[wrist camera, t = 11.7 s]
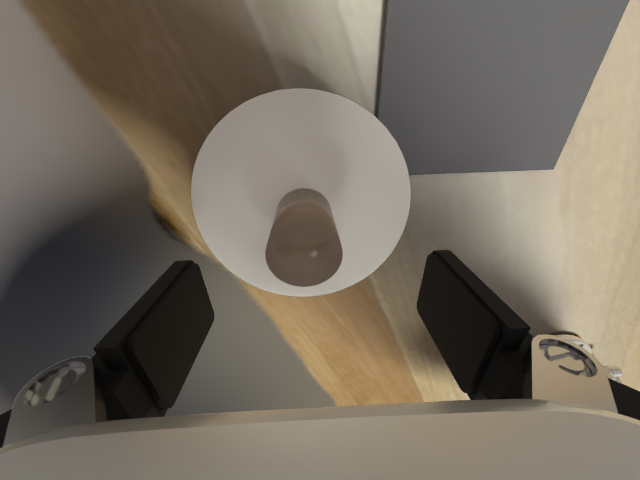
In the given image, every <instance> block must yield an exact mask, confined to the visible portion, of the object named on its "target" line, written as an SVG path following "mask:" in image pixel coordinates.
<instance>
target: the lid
mask: <svg viewBox="0 0 640 480" xmlns="http://www.w3.org/2000/svg"><path fill="white" fill-rule="evenodd" d="M191 199H192V208H193V212H194V217H195V221H196V223H197V226H198V229H199V231H200V234H201V235H202V237H203V239H204V241H205V243H206V245H207V246H208V248H209V249H210V250H211V252H212V253H213V254H214V256H215V257H216V258H217V259H218V260H219V261H220V262H221V263H222V264H223V265H224V266H225V267H226V268H227V269H228V270H229V271H231V272H232V273H233V274H234V275H236V276H237V277H239V278H240V279H242V280H243V281H245V282H247V283H249V284H251V285H253V286H255V287H257V288H260V289H262V290H265V291H268V292H272V293H275V294H281V295H286V296H296V297H309V296H319V295H324V294H329V293H333V292H336V291H339V290H342V289H345V288H347V287H349V286H352V285H354V284H356V283H357V282H359V281H361V280H363V279H364V278H366V277H367V276H368V275H370V274H371V273H372V272H374V271H375V270H376V269H377V268H378V267H379V266H380V265H381V264H382V263H383V262H384V261H385V260H386V259H387V258H388V256H389V255H390V254H391V253H392V251H393V250H394V248H395V247H396V245H397V243H398V241H399V240H400V238H401V236H402V234H403V231H404V228H405V226H406V223H407V219H408V214H409V210H410V200H411V189H410V179H409V173H408V168H407V165H406V162H405V159H404V156H403V154H402V152H401V150H400V148H399V146H398V144H397V142H396V141H395V139H394V138H393V136H392V135H391V134H390V132H389V131H388V129H387V128H386V127H385V126H384V125H383V124H382V123H381V122H380V121H379V120H378V119H377V118H376V117H375V116H374V115H373V114H371V113H370V112H369V111H367V110H366V109H365V108H363V107H362V106H360V105H358V104H357V103H355V102H353V101H351V100H349V99H347V98H345V97H342V96H339V95H337V94H334V93H331V92H326V91H321V90H316V89H304V88H292V89H283V90H276V91H273V92H269V93H265V94H262V95H259V96H257V97H255V98H252V99H250V100H248V101H246V102H244V103H242V104H241V105H239V106H238V107H236V108H235V109H233V110H232V111H230V112H229V113H228V114H227V115H226V116H225V117H224V118H223V119H222V120H220V121H219V122H218V123H217V125H216V126H215V127H214V128H213V130H212V131H211V132H210V133H209V135H208V136H207V138H206V140H205V141H204V143H203V145H202V147H201V149H200V151H199V154H198V156H197V159H196V162H195V165H194V170H193V175H192V182H191Z"/></svg>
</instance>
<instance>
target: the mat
mask: <svg viewBox="0 0 640 480" xmlns="http://www.w3.org/2000/svg"><path fill="white" fill-rule="evenodd" d="M628 2H629V0H386V11H385V23H384V35H383V47H382V60H381V72H380V84H379V96H378V108H377V119H378V120H379V121H380V122H381V123H382V124H383V125H384V126H385V127H386V128H387V129H388V131H389V132H390V134H391V135H392V136H393V138H394V139H395V141H396V142H397V144H398V146H399V148H400V150H401V152H402V154H403V156H404V159H405V162H406V165H407V168H408V173H409V175H418V174H445V173H471V172H497V171H523V170H549V169H554V167H555V165H556V163H557V161H558V158H559V156H560V154H561V152H562V150H563V147H564V145H565V143H566V141H567V138H568V136H569V134H570V132H571V129H572V127H573V125H574V123H575V121H576V118H577V116H578V114H579V112H580V109H581V107H582V105H583V103H584V100H585V98H586V96H587V94H588V92H589V89H590V87H591V85H592V83H593V80H594V78H595V76H596V74H597V71H598V69H599V67H600V65H601V63H602V60H603V58H604V56H605V54H606V51H607V49H608V47H609V45H610V42H611V40H612V38H613V36H614V34H615V31H616V29H617V27H618V25H619V22H620V20H621V18H622V16H623V13H624V11H625V9H626V7H627V5H628Z"/></svg>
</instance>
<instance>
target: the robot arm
mask: <svg viewBox="0 0 640 480" xmlns="http://www.w3.org/2000/svg"><path fill="white" fill-rule="evenodd" d="M417 310H418V313H419V315H420V317H421V318H422V320H423V322H424V324H425V326H426V328H427V329H428V331H429V333H430V335H431V337H432V338H433V340H434V342H435V344H436V346H437V347H438V349H439V351H440V353H441V355H442V356H443V358H444V360H445V362H446V364H447V366H448V367H449V369H450V371H451V373H452V375H453V376H454V378H455V380H456V382H457V384H458V385H459V387H460V389H461V390H462V391H463V392H464V393H467V394H468V396H469V398H470V399H471V400H460V401H439V402H418V403H397V404H376V405H356V406H337V407H318V408H301V409H282V410H263V411H246V412H231V413H230V412H229V413H212V414H195V415H180V416H164V415H165V413H166V411H167V409H168V408H171V407H172V406H173V405H174V403H175V401H176V399H177V397H178V395H179V393H180V390H181V388H182V386H183V384H184V382H185V380H186V378H187V375H188V374H189V371H190V370H191V367H192V365H193V363H194V361H195V359H196V357H197V355H198V352H199V350H200V348H201V346H202V344H203V342H204V340H205V338H206V336H207V334H208V332H209V330H210V327H211V325H212V323H213V321H214V311H213V308H212V305H211V302H210V299H209V296H208V293H207V289H206V286H205V283H204V280H203V277H202V274H201V271H200V268H199V265H198V264H195V263H194V262H193V261H192V260H185V261H175V262H174V263H173V264H172V265H171V266H170V267H169V268H168V269H167V270H166V272H165V273H164V274H163V275H162V276H161V277H160V278H159V279H158V280H157V281H156V282H155V284H153V285H152V286H151V287H150V289H149V290H148V291H147V292H146V293H145V294H144V295H143V296H142V297H141V298H140V299H139V300H138V301H137V302H136V303H135V304H134V306H133V307H132V308H131V309H130V310H129V311H128V312H127V313H126V314H125V315H124V316H123V317H122V318H121V319H120V321H118V323H117V324H116V325H115V326H114V327H113V328H112V329H111V330H110V331H109V332H108V333H107V334H106V335H105V336H104V337H103V339H102V340H101V341H100V342H99V343H98V344H97V345H96V346H95V347H94V348H93V349H94V350H95V352H96V354H95V355H94V356H93V357H92V358H91V359H90V358H88V357H74V358H69V359H67V360H64V361H62V362H59V363H57V364H55V365H53V366H51V367H49V368H48V369H46V370H44V371H43V372H42V373H40V374H38V375H37V376H35V377H34V378H33V379H32V380H31V381H30V382H29V383H27V384H26V385H25V386H24V387H23V389H22V390H21V391H20V392H19V393H18V395H17V397H16V399H15V401H14V403H13V407H12V409H11V410H9V411H7V412H5V413H3V414H1V415H0V480H640V392H639V391H637V390H635V389H632V388H630V387H628V386H626V385H623V384H622V382H621V380H620V379H619V378H618V377H620V376H622V374H623V373H622V371H621V370H620V369H619V368H618V367H616V366H602V364H601V363H600V362H599V361H598V360H597V359H596V358H595V357H594V356H593V355H592V350H591V348H590V346H589V345H588V344H587V343H586V342H585V341H583V340H582V339H581V338H579V337H577V336H573V335H565V334H561V335H547V334H542V335H537V336H535V337H533V336H532V335H531V334H530V333H529V330H530V327H529V326H528V325H527V324H526V323H525V322H524V321H523V320H522V319H521V318H520V317H519V316H518V315H517V314H516V313H515V312H514V311H513V310H512V309H511V308H510V307H508V306H507V305H506V304H505V303H504V302H503V301H502V300H501V299H500V298H499V297H498V296H497V295H496V294H495V293H494V292H493V291H492V290H491V289H490V288H489V287H488V286H486V285H485V284H484V283H483V282H482V281H481V280H480V279H479V278H478V277H477V276H476V275H475V274H474V273H473V272H472V271H471V270H470V269H469V268H468V267H467V266H466V265H464V264H463V263H462V262H461V261H460V260H459V259H458V258H457V257H456V256H455V255H454V254H453V253H452V252H451V251H449V250H437V251H433V252H432V253H431V254H429V255H428V257H427V260H426V265H425V269H424V274H423V278H422V283H421V287H420V292H419V296H418V301H417Z"/></svg>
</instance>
